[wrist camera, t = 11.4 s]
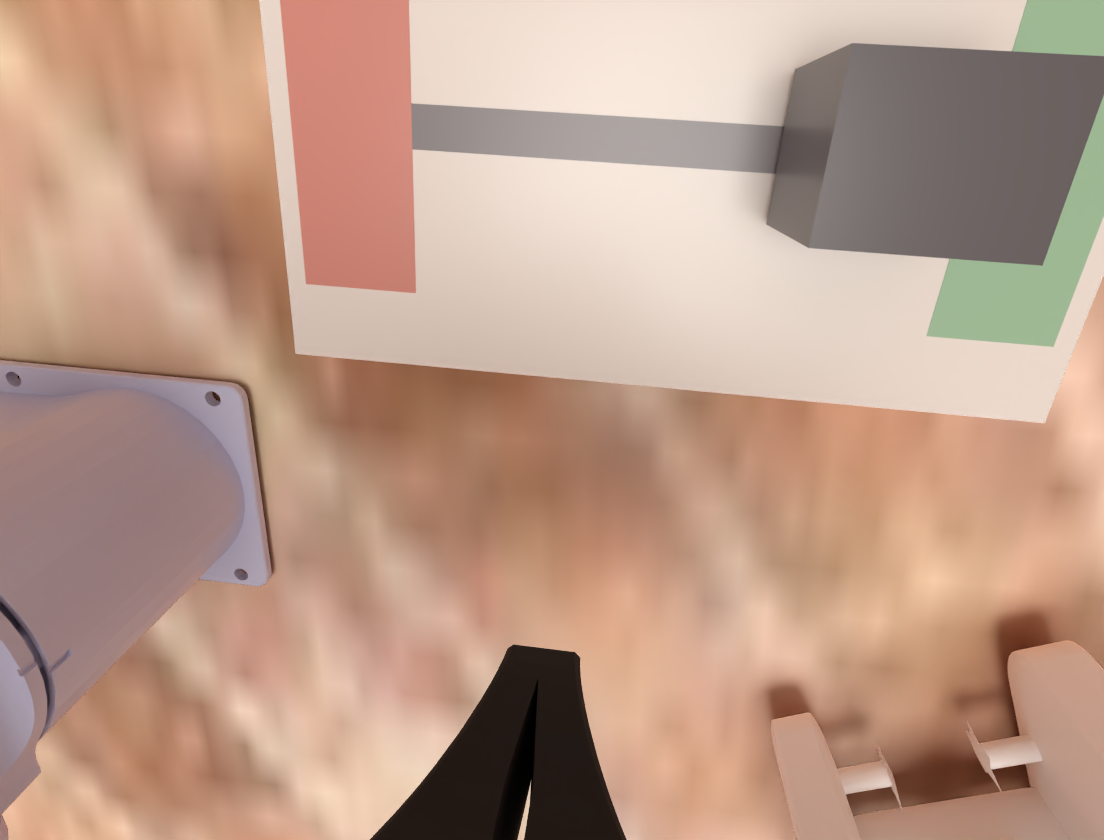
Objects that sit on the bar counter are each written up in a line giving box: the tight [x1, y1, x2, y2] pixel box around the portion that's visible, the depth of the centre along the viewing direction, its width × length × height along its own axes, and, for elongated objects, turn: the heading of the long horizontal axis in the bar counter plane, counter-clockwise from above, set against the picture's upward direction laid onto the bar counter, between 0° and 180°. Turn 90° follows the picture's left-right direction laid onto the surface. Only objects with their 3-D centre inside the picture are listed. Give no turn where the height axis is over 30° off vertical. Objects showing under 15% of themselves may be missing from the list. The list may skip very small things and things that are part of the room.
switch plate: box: [259, 0, 1104, 423], centre depth 16 cm, size 20×12×2 cm, turn 87°
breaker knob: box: [766, 43, 1104, 266], centre depth 12 cm, size 4×3×4 cm
